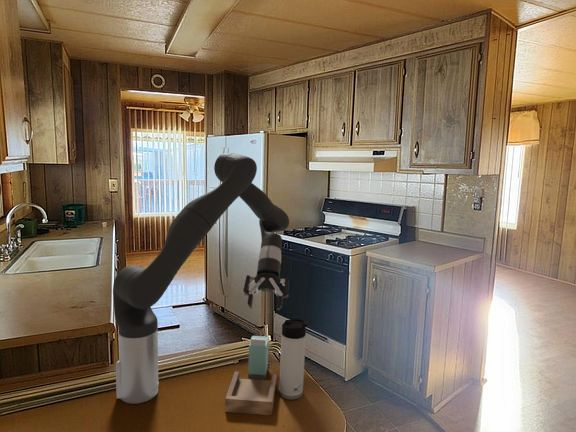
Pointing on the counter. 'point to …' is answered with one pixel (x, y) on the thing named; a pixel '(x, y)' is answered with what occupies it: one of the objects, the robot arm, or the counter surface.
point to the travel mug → (292, 358)
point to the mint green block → (258, 358)
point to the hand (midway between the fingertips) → (264, 308)
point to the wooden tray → (251, 395)
